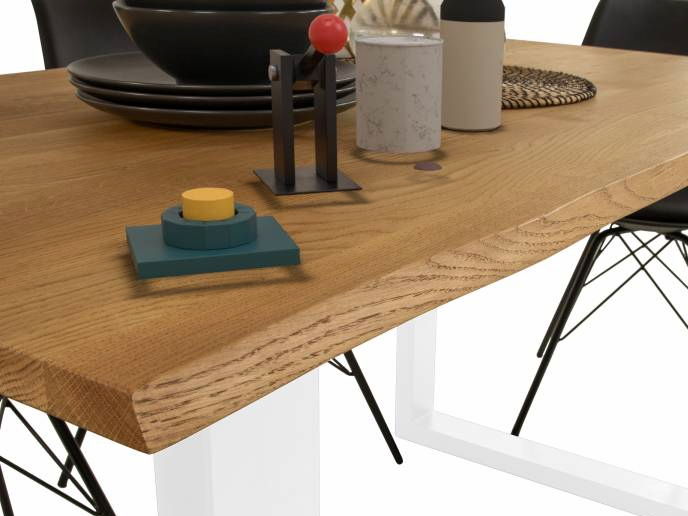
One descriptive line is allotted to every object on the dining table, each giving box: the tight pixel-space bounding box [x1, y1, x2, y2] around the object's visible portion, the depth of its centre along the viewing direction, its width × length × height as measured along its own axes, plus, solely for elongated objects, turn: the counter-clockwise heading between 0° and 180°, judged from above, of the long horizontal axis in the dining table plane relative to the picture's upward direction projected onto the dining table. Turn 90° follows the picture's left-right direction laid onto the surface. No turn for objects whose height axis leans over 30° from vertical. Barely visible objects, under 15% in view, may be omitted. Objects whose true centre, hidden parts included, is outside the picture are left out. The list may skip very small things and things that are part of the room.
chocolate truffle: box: [413, 160, 443, 172], centre depth 101 cm, size 3×3×2 cm
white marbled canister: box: [354, 34, 444, 154], centre depth 110 cm, size 10×10×12 cm
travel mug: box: [439, 0, 506, 132], centre depth 125 cm, size 8×8×18 cm
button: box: [181, 187, 235, 221], centre depth 72 cm, size 4×4×2 cm
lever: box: [291, 13, 349, 91], centre depth 86 cm, size 13×3×3 cm, turn 21°
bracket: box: [252, 49, 363, 197], centre depth 93 cm, size 10×8×13 cm
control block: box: [125, 201, 301, 281], centre depth 73 cm, size 11×9×4 cm
